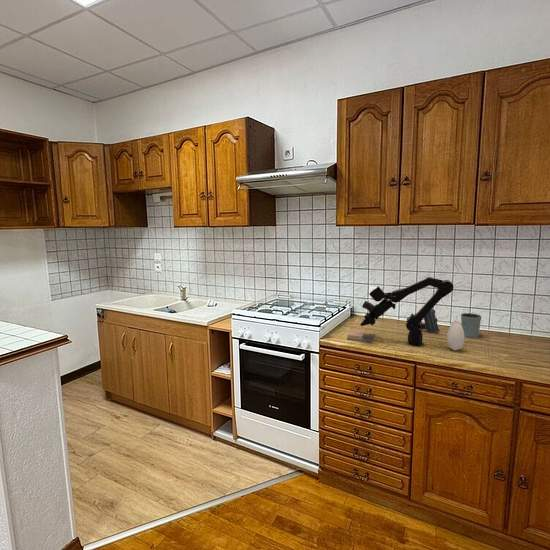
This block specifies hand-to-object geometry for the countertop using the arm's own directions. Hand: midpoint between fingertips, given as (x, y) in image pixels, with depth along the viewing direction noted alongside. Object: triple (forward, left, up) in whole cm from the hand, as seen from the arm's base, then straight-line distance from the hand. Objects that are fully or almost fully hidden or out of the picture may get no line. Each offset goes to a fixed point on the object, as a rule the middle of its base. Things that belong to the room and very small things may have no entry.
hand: (360, 325), depth 195 cm
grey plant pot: (-34, -52, -8) cm, 63 cm away
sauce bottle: (-41, -23, -7) cm, 48 cm away
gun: (-14, -40, -8) cm, 43 cm away
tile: (-1, -1, -6) cm, 6 cm away
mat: (0, 0, -7) cm, 7 cm away
